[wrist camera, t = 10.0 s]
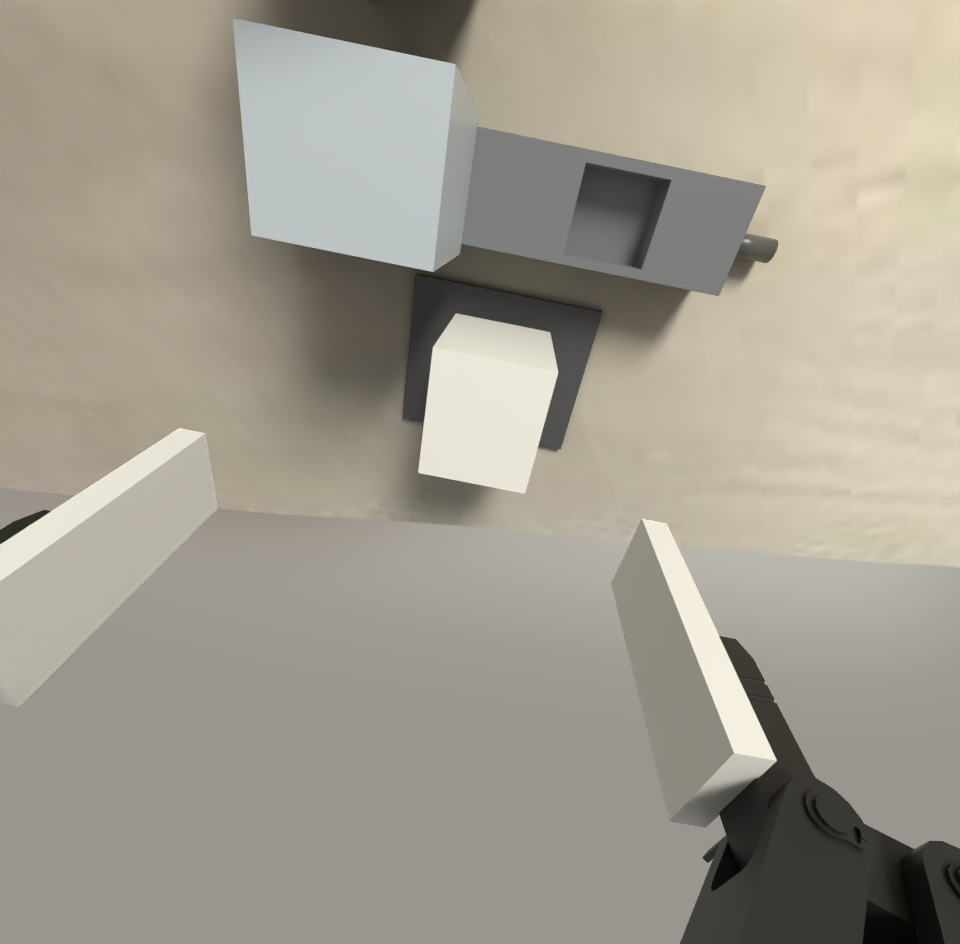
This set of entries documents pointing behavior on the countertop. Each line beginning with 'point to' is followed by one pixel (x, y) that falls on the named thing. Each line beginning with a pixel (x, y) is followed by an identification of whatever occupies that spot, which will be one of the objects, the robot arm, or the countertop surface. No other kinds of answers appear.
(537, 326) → the mat
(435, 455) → the block
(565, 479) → the countertop surface
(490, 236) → the power strip
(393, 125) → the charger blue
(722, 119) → the countertop surface
